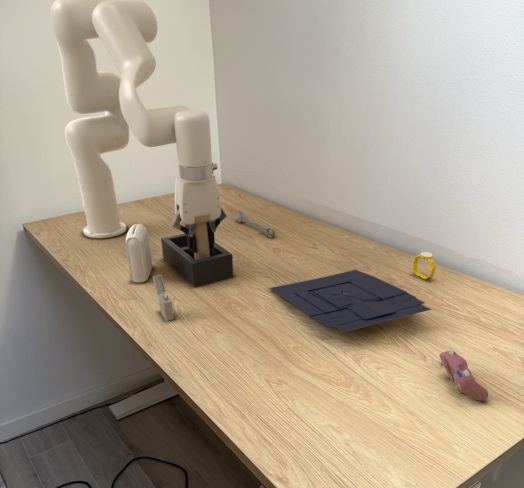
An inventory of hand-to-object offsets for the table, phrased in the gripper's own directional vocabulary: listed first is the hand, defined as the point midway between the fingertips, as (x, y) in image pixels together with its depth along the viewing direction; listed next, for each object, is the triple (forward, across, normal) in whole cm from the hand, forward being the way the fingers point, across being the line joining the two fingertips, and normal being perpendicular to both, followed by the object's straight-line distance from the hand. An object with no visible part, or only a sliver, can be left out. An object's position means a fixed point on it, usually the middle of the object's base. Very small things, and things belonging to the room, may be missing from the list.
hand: (201, 248), depth 125 cm
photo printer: (+7, +13, -8) cm, 17 cm away
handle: (+6, 0, 0) cm, 6 cm away
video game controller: (+6, -17, +66) cm, 68 cm away
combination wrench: (+7, -27, -21) cm, 35 cm away
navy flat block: (+6, -19, +33) cm, 39 cm away
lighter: (+7, +16, +14) cm, 22 cm away
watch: (+6, -44, +31) cm, 54 cm away
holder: (+7, 0, -4) cm, 8 cm away
